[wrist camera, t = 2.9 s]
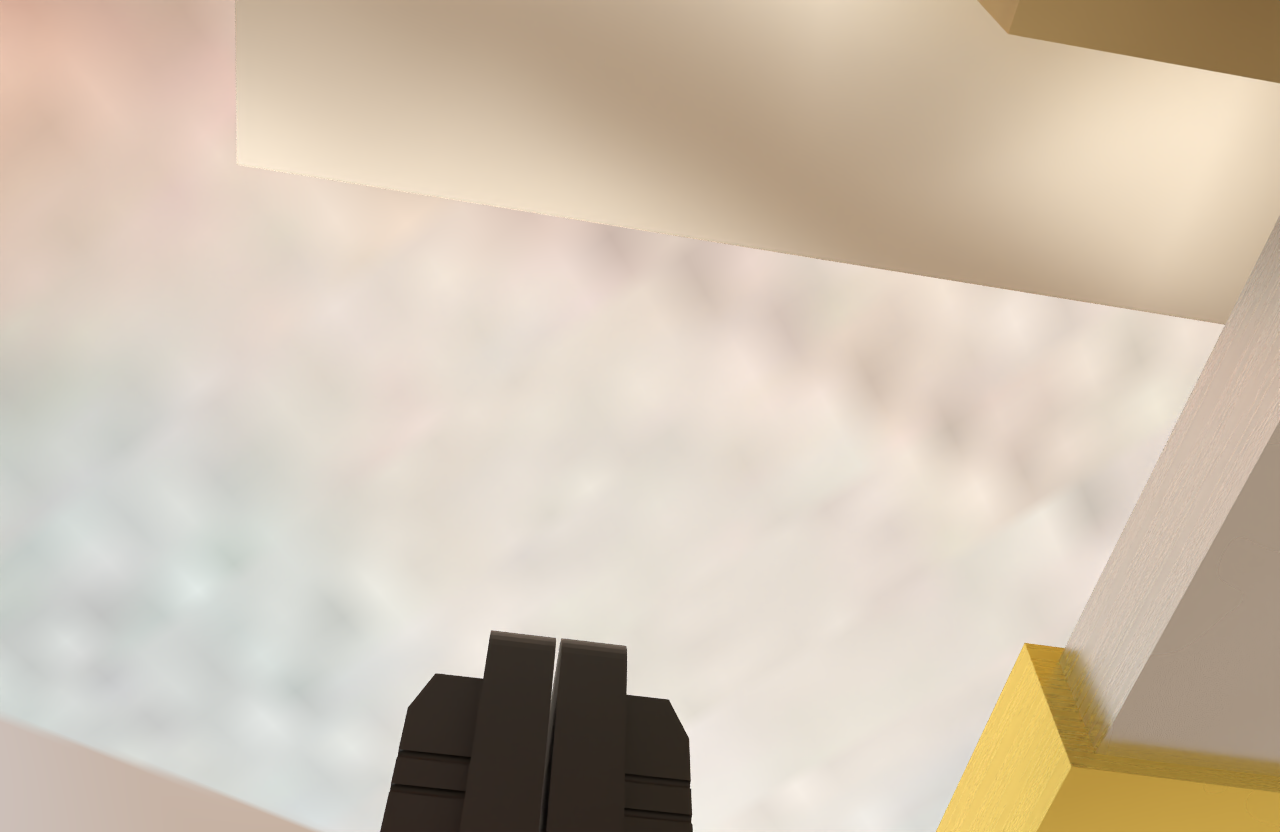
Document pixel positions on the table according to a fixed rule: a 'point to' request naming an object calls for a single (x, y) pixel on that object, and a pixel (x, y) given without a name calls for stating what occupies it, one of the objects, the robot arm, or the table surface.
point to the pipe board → (811, 127)
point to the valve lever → (1164, 634)
